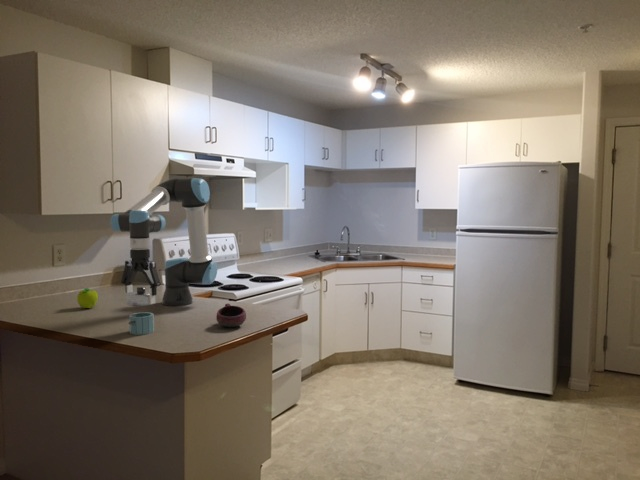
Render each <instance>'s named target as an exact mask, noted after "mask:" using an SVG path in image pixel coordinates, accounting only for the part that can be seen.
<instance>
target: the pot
mask: <svg viewBox="0 0 640 480" xmlns="http://www.w3.org/2000/svg"><path fill="white" fill-rule="evenodd" d="M128 316H129V317H128V318H129V320H128V325H129V334H131V335H135V336H139V335H150V334H152V333H154V332H155V314H154V312H149V311H148V312H145V311H144V312H136V313H131V314H130V315H128Z"/></svg>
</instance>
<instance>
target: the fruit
mask: <svg viewBox="0 0 640 480" xmlns="http://www.w3.org/2000/svg"><path fill="white" fill-rule="evenodd" d="M98 299H99V294H98V293H97V291H96V290H91V289H90V288H89V287H88V288H87V287H86V288H83V289H82V290H80V291H79V292H78V295H77V299H76V300H77V304H78V305H79V306H80V307H81V308H82V309H85V308H89V309H93V308H94V307H95V306H96V304H97V302H98Z"/></svg>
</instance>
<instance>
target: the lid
mask: <svg viewBox="0 0 640 480" xmlns="http://www.w3.org/2000/svg"><path fill="white" fill-rule="evenodd" d="M155 304H156V303H153V304H149V290H146V286H138V287H136V291H133V292H131V293H128V294H127V293H126V305H127V306H131V307H145V306H146V307H147V306H150V305H151V306H152V305H155Z"/></svg>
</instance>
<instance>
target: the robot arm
mask: <svg viewBox="0 0 640 480" xmlns="http://www.w3.org/2000/svg"><path fill="white" fill-rule="evenodd" d="M210 197H211V192H210V187H209V183H208V182H207V181H206V180H205V179H203V178H198V177H197V178H196V177H186V178H185V177H184V178H182V177H180V178H178V177H174V178H169V179H166V180H165V181H162V182H161V183H159V184H157V185H156V186H155V187H153V188H152V189H151V192H150V193H148V194H147V195H146V196H145V197H143V198H142V199H141V200H140V201H138V202H137V203H135V204H134V205H132V206H131V207H130V208H128V209H127V210H126V211H124V213H115V214H113V215H112V216H111V217H110V222H109V224H110V227H111V230H112V231H113V232H120V233H123V232H124V233H125V232H126V233H129V247H130V248H131V249H130V250H129V258H130V260H125V261H124V269H123V274H122V277H121V281H120V284H122V285H124V286H125V293H126V295H127V294H128V293H131V292H134V290H133V289H134V288H133V287H134V285H133V281H134V279H135V277H136V275H137V273H138V272H141V273H142V274H143V275H144V277H145V279H146V280H147V282H148V284H149V286H150V287H148V291H149V304H152V305H154V304H153V303H155V304H156V303H157V302H156V296H157V291H158V290H157V289H158V287H160V286H161V280H160V277H159V273H158V269H157V266H156V265H157V264H156V261H150V260H149V259H150V258H151V250H150V247H151V245H150V243H151V242H150V233H158V232H161V231H163V230H164V229H165V228H166V219H165V217H164V216H163V215H161V214H159V213H158V214H157V213H154V212H156V211H157V210H158V209H160V207H162V206H166V205H167V204H169V203H181V206H182V207H181V208H183V209H184V210H185V216H186V225H187V232H188V242H189V250H190V257H189V258H188V257H178V258H172V259H167V260H166V261H165V263H164V283H165V289H164V292H163V297H162V299H161V304H162V305H164V306H170V307H177V306H179V307H180V306H187V305H191V304H193V297H192V293H191V290H190V286H189V285H190V284H193V285H194V284H195V285H211V284H213V283H214V281H215V280H216V278H217V274H218V263H217V262H216V261H214V260H213V257H212V256H211V255H210V254H209V245H208V239H207V238H208V237H207V230H206V229H207V227H206V218H205V210H204V209H205V207H206V206H207V203H208V202H209V201H210Z"/></svg>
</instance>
